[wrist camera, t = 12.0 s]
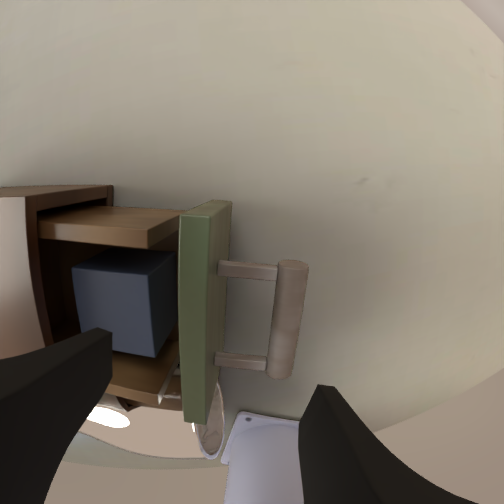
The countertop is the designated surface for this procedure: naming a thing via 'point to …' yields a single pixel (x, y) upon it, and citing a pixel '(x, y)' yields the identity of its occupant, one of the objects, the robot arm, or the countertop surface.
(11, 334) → the cabinet
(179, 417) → the beige cup
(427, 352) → the countertop surface
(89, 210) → the drawer
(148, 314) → the block
